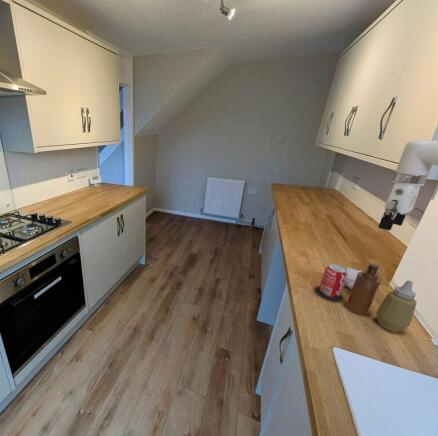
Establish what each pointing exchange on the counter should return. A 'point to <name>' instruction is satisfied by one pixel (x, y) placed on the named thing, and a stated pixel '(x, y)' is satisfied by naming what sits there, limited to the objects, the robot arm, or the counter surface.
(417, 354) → the counter surface
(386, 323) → the squeeze bottle
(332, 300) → the coaster
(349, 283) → the charger
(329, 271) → the soda can
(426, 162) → the robot arm
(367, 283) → the stoneware bottle
